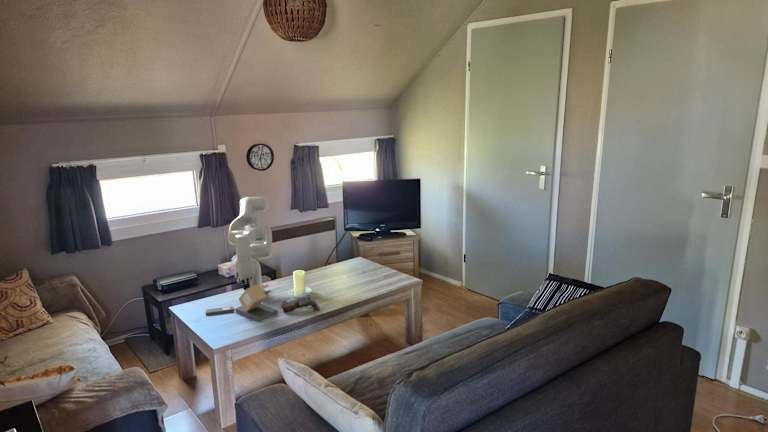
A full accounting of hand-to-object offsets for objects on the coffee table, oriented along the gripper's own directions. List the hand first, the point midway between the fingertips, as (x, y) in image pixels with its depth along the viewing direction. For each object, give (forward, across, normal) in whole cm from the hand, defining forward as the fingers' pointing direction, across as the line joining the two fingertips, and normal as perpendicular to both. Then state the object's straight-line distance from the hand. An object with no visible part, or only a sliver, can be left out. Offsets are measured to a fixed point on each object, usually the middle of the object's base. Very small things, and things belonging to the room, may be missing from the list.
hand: (246, 290), depth 259 cm
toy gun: (+13, -16, +23) cm, 31 cm away
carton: (+7, 0, 0) cm, 7 cm away
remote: (+13, +9, -13) cm, 21 cm away
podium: (+13, -2, +4) cm, 14 cm away
